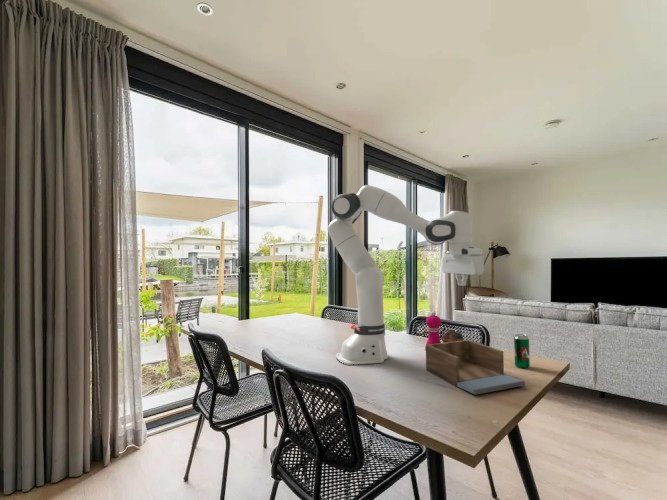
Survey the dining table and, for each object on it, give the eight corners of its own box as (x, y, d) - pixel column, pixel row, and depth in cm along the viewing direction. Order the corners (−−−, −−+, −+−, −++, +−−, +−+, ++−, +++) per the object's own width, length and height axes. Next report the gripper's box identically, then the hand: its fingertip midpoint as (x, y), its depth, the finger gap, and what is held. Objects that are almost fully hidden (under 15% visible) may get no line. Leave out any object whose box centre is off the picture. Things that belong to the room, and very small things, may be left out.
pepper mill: (434, 364, 129) (433, 313, 130) (421, 359, 136) (420, 311, 136) (447, 361, 133) (446, 312, 133) (434, 356, 139) (433, 309, 140)
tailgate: (457, 386, 106) (475, 394, 99) (457, 382, 106) (474, 390, 99) (504, 378, 113) (525, 385, 105) (504, 374, 113) (524, 381, 105)
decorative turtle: (460, 344, 157) (459, 327, 157) (467, 353, 142) (467, 335, 142) (439, 343, 159) (439, 327, 159) (444, 353, 144) (444, 334, 144)
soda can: (517, 363, 128) (516, 333, 128) (531, 366, 125) (530, 335, 125) (512, 366, 125) (512, 335, 125) (527, 370, 121) (526, 337, 121)
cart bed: (456, 386, 107) (455, 357, 107) (426, 370, 123) (425, 344, 123) (504, 378, 113) (503, 351, 113) (469, 363, 129) (468, 339, 129)
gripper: (438, 251, 139) (438, 283, 139) (472, 250, 120) (473, 287, 119) (450, 251, 141) (451, 283, 141) (486, 250, 122) (487, 287, 121)
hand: (461, 285), depth 130 cm, fingers closed
